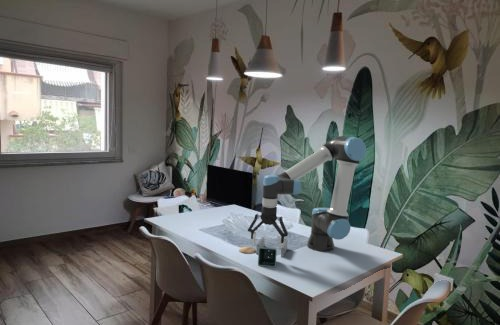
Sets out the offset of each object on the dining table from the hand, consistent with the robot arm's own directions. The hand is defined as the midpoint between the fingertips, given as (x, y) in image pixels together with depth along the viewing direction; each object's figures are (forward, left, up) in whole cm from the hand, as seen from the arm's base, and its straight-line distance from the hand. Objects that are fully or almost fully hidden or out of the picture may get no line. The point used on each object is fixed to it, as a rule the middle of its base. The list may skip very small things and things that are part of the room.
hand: (266, 247), depth 182 cm
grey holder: (0, -14, -7) cm, 16 cm away
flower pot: (-1, -2, -4) cm, 4 cm away
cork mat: (+13, -10, -7) cm, 18 cm away
